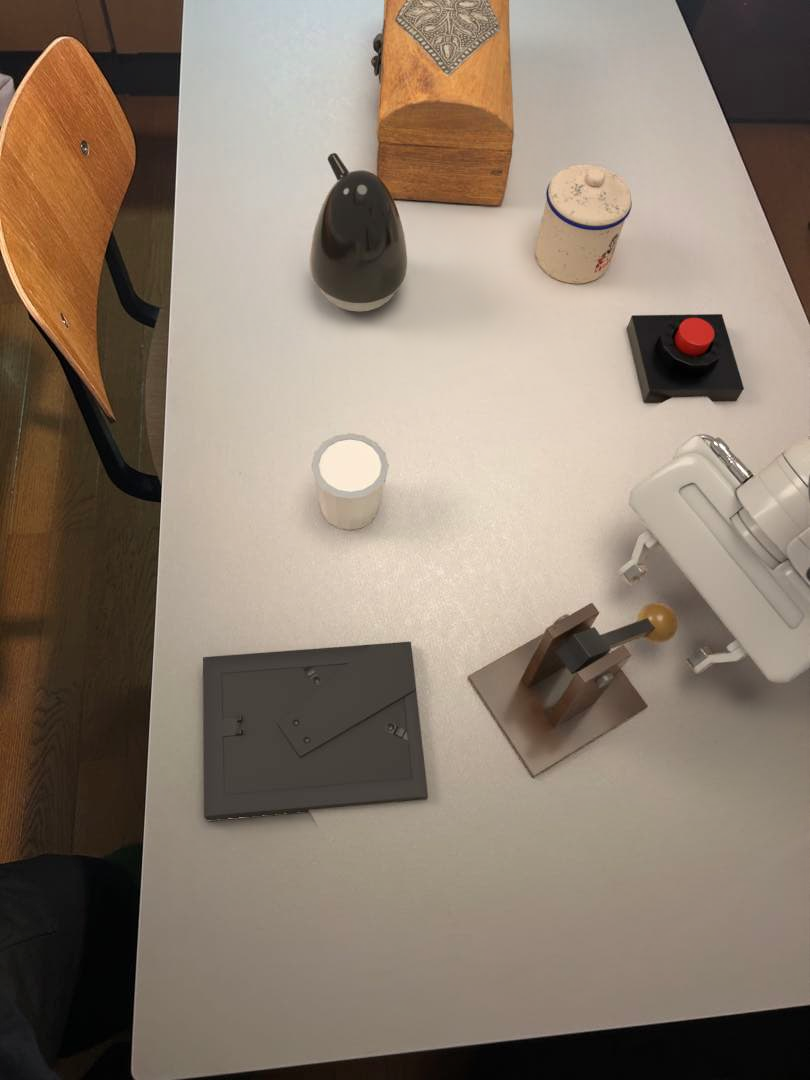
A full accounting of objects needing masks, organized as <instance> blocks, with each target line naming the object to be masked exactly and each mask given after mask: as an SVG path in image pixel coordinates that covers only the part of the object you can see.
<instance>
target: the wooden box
mask: <svg viewBox="0 0 810 1080" xmlns="http://www.w3.org/2000/svg"><path fill="white" fill-rule="evenodd" d="M382 18H383V19H382V22H383V23H382V30H381V32H378V33H377V34H376V35H375V37H374V38H373V41H372V49H373V50H374V52H376V55H374V56H373V57H372V58H371V60H370V64H371V66H372V67H373V73H374V74H373V75H374V76H375V77H377V76H378V83H379V95H378V107H377V122H376V138H377V147H376V149H377V150H376V176H378V177H379V178H380V179H381V180H382V181H383V183H384V184H385V185H386V187H387V188H388V190H389V191H390V193H391V195H392V197H393V199H394V200H395V199H397V200H412V201H413V200H414V201H424V202H425V201H428V202H442V203H454V204H468V205H486V206H501V205H502V204H503V201H504V197H505V194H506V191H507V186H508V179H509V172H510V167H511V162H512V158H513V157H512V156H513V143H514V137H515V127H514V126H515V125H514V106H513V105H514V104H513V85H512V84H513V83H512V65H511V62H512V61H511V34H510V33H511V32H510V30H511V29H510V0H383V17H382Z"/></svg>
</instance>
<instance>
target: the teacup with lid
mask: <svg viewBox="0 0 810 1080" xmlns="http://www.w3.org/2000/svg"><path fill="white" fill-rule="evenodd" d="M545 195H546V200H545V201H546V202H545V205H544V209H543V214H542V217H541V220H540V221H541V222H540V226H539V230H538V234H537V238H536V242H535V246H534V254H535V255H534V256H535V258H536V261H537V263H538V265H539V266H540V267H541V269H542V270H543V271H544V272H545V273H546V274H547V275H548V276H549V277H552V278H554V279H555V280H558V281H560V282H563V283H567V284H579V285H580V284H586V283H590V282H593V281H595V280H597V279H599V278H601V277H602V276H603V275H604V274H605V273H606V272H607V270H608V269H609V266H610V264H611V261H612V258H613V256H614V253H615V248H616V246H617V244H618V241H619V238H620V235H621V233H622V230H623V227H624V224H625V220H626V219H627V218H628V217H629V215H630V213H631V211H632V205H633V201H632V194H631V190H630V189H629V186H628V184H627V183H626V182H625V181H624V180H623V179H622V178H621V177H620V176H619V175H618V174H616V173H615V172H613V171H611V170H610V169H607V168H604V167H602V166H598V165H593V164H577V165H571V166H568V167H565V168H564V169H561V170H560V171H558V172H557V173H555V175H554V176H553V177H552V179H551V180H550V181H549V182H548V185H547V188H546V192H545Z"/></svg>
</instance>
